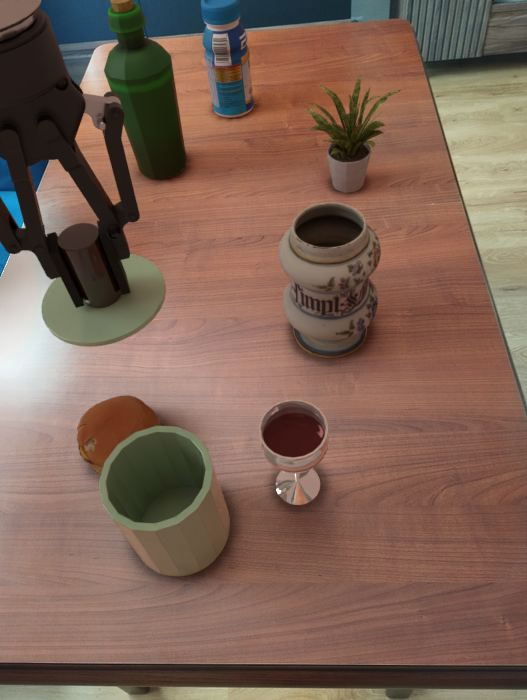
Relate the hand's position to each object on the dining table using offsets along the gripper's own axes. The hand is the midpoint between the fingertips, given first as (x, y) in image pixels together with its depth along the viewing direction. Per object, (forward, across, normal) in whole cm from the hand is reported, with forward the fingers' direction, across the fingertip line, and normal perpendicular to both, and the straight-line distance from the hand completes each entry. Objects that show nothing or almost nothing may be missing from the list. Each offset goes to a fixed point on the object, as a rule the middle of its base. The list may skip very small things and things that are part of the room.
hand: (101, 290), depth 54 cm
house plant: (+23, +41, +36) cm, 59 cm away
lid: (+1, 0, 0) cm, 1 cm away
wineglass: (+23, +13, -14) cm, 30 cm away
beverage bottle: (+23, +28, +67) cm, 76 cm away
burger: (+23, -4, -2) cm, 24 cm away
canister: (+23, 0, -14) cm, 27 cm away
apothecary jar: (+23, +25, +6) cm, 35 cm away
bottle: (+23, +11, +53) cm, 59 cm away
